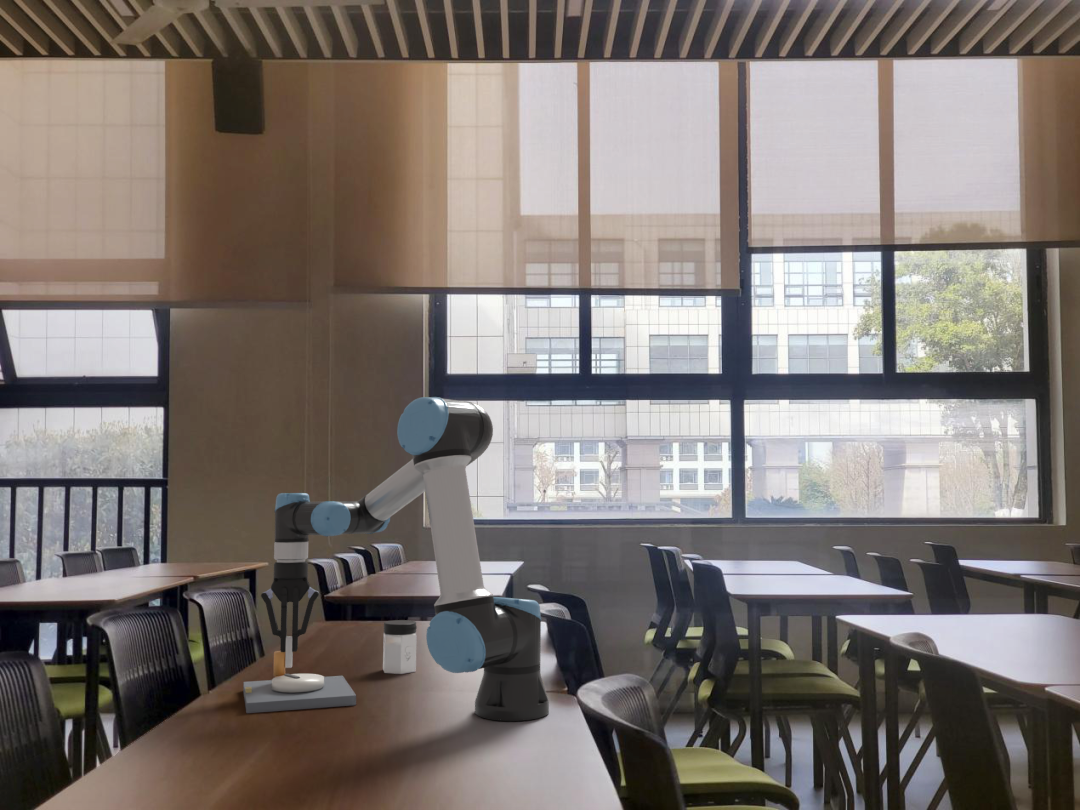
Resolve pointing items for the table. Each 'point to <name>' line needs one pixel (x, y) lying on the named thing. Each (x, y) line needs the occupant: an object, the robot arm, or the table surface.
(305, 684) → the dial
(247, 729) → the table surface
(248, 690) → the panel
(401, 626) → the jar
